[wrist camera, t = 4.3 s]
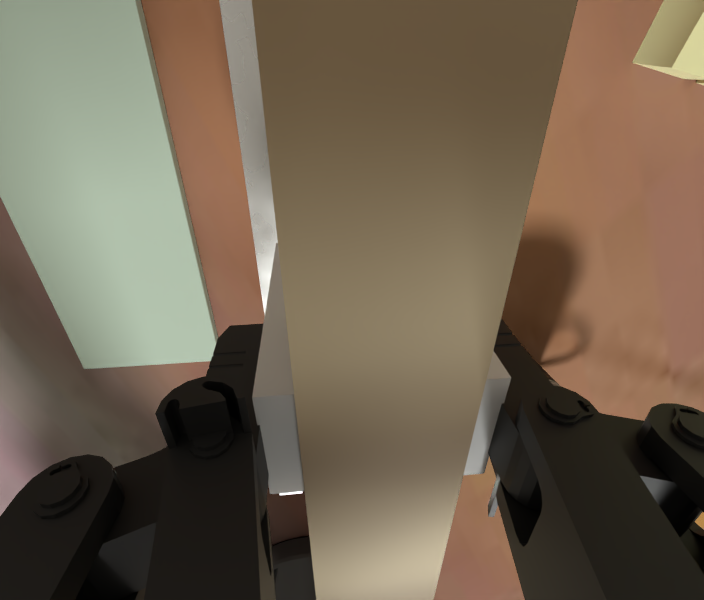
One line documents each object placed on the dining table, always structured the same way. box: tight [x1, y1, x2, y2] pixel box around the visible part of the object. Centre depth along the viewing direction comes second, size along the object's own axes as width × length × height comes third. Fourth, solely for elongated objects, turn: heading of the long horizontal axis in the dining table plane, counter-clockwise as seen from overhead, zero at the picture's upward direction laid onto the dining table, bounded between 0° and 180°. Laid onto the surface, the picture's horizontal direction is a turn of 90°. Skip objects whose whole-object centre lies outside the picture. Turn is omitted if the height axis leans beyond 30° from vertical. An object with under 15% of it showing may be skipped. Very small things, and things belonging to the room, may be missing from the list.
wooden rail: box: [252, 0, 578, 600], centre depth 9 cm, size 22×3×4 cm, turn 0°
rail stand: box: [219, 0, 303, 495], centre depth 18 cm, size 26×10×14 cm, turn 0°
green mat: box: [0, 0, 218, 369], centre depth 23 cm, size 28×10×1 cm, turn 0°
